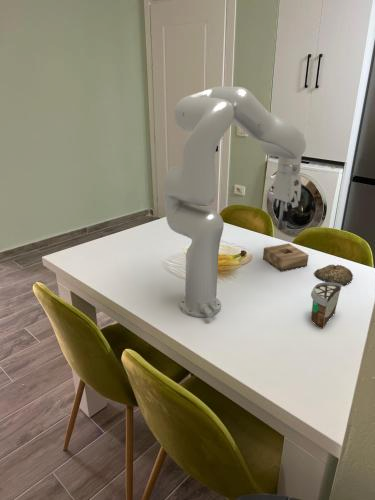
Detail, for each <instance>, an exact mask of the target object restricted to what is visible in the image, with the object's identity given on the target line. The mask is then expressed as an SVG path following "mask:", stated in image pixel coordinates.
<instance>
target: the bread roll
mask: <svg viewBox="0 0 375 500" xmlns="http://www.w3.org/2000/svg"><path fill="white" fill-rule="evenodd" d="M314 274H315V275H314ZM313 275H314V276H315V277H316V276H317V277H316V278H318V279H320V280H322V281H324V280H325V281H324V282H326V281H328V282H332V283H338V284H341V285H344V284H347V283H348V284H350V283H351V282H352V279H353V278H354V276H353V275H354V274H353V273H352V271H351V270H350V269H349V268H348V267H346V266H343V265H341V264H336V265H335V264H329V265H326V266H324V267H322V268H318V269H316V270H315V271H314V273H313ZM352 277H353V278H352ZM350 281H351V282H350ZM349 282H350V283H349ZM348 284H347V285H348ZM344 286H345V285H344Z"/></svg>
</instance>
